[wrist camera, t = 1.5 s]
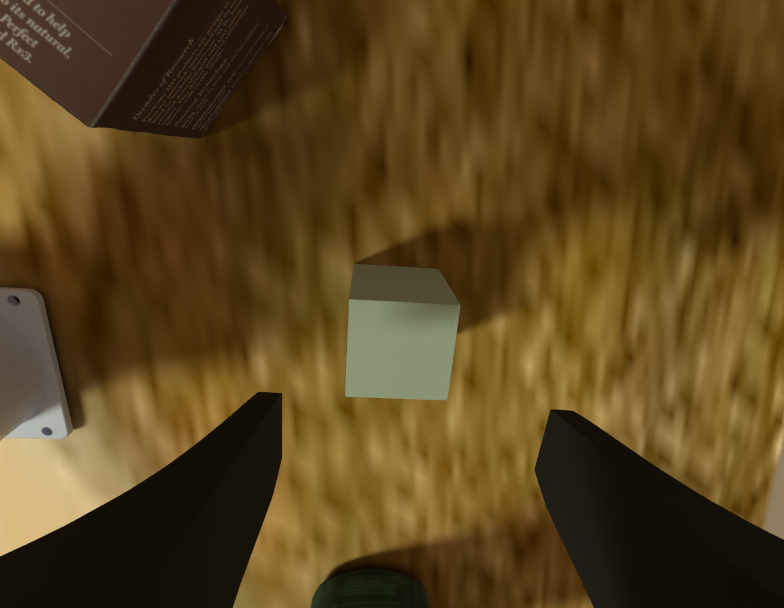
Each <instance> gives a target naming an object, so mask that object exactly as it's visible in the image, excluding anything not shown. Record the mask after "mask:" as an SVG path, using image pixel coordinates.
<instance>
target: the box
mask: <svg viewBox="0 0 784 608" xmlns="http://www.w3.org/2000/svg"><path fill="white" fill-rule="evenodd" d="M286 19H287V17H286V14H285V13H284V11H283V10H282V9H281V7H280V5H279V4H278V2H277V0H0V58H1V59H2V60H3V61H5V62H6V63H7V64H8V65H10V66H11V67H12V68H14V69H15V70H16V71H18V72H19V73H20V74H21V75H22V76H24V77H25V78H26V79H28V80H29V81H30V82H31V83H32V84H33V85H35V86H36V87H37V88H39V89H40V90H41V91H43V92H44V93H45V94H46V95H47V96H49V97H50V98H51V99H52V100H53V101H55V102H57V103H58V104H59V105H61V106H62V107H63V108H64V109H65V110H67V111H68V112H69V113H70V114H72V115H73V116H74V117H76V118H77V119H78V120H80V121H81V122H82V123H83V124H85V125H86V126H88V127H90V128H97V127H103V128H114V129H118V130H126V131H132V132H142V133H152V134H159V135H168V136H178V137H187V138H196V139H199V138H200V137H201V136H202V135H203V134H204V133H205V132H206V131H207V129H208V128H209V127H210V125H211V123H212V122H213V121H214V119H215V118H216V117H217V115H218V114H219V113H220V111H221V110H222V108H223V107H224V105H225V103H226V102H227V100H228V99H229V98H230V97H231V95H232V94H233V92H234V91H235V90H236V88H237V87H238V86H239V85H240V83H241V81H242V80H243V79H244V78H245V76H246V75H247V74H248V72H249V71H250V69H251V68H252V67H253V65H254V64H255V63H256V61H257V60H258V59H259V57H260V56H261V55H262V53H263V52H264V51H265V49H266V47H267V46H268V45H269V44H270V43H271V41H272V40H273V39H274V37H275V36H276V35H277V33H278V31H279V30H280V29H281V27H282V26H283V24H284V22H285V20H286Z"/></svg>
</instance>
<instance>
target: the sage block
mask: <svg viewBox="0 0 784 608" xmlns="http://www.w3.org/2000/svg"><path fill="white" fill-rule="evenodd" d="M460 306H461V305H460V304H459V302H458V300H457V298H456V297H455V295H454V293H453V292H452V290H451V288H450V287H449V285H448V283H447V282H446V280H445V278H444V277H443V275H442V273H441V272H440V270H439V269H434V268H417V267H401V266H384V265H368V264H354V269H353V276H352V284H351V291H350V298H349V318H348V342H347V365H346V388H345V397H373V398H400V399H427V400H447V397H448V390H449V383H450V376H451V369H452V362H453V355H454V348H455V341H456V334H457V327H458V320H459V313H460Z"/></svg>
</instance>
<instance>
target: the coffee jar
mask: <svg viewBox="0 0 784 608" xmlns="http://www.w3.org/2000/svg"><path fill="white" fill-rule="evenodd" d="M311 608H430V607H429V600H428V596H427V593H426V591H425V589H424V587H423V586H422V585H421V583H420V582H419V581H417V580H415V579H414V578H412V577H409V576H407V575H404V574H400V573H396V572H393V571H390V570H383V569H361V570H354V571H351V572H348V573H345V574H341V575H337V576H335V577H332V578H330V579H328V580H326V581H324V582H323V583H322V584H321V585H320V586H319V587H318V589H317V590H316V592H315V594H314V596H313V599H312V603H311Z"/></svg>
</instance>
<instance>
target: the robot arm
mask: <svg viewBox="0 0 784 608" xmlns="http://www.w3.org/2000/svg"><path fill="white" fill-rule="evenodd" d="M15 296H16V297H17V298H19V300H20V303H19V302H17V301H16V299H15ZM49 428H50V429H51V430H50V429H49ZM72 431H73V427H72V422H71V418H70V414H69V409H68V405H67V400H66V396H65V392H64V387H63V383H62V379H61V374H60V370H59V365H58V361H57V357H56V352H55V348H54V343H53V339H52V335H51V330H50V326H49V322H48V317H47V313H46V308H45V304H44V300H43V297H42V295H41V294H40V293H39V292H37V291H36V290H34V289H28V288H9V287H0V441H1V440H2V439H3V438H32V439H65V438H66V437H68V436H69V435H70V434H71V433H72ZM281 460H282V393H269V392H258V393H256V394H255V395H254V396H253V397H252V398H250V399H249V400H248V401H247V402H246V403H245V404H243V405H242V406H241V407H240V408H239V409H238V410H237V411H235V412H234V413H233V414H232V415H231V416H230V417H228V418H227V419H226V420H225V421H224V422H223V423H221V424H220V425H219V426H218V427H217V428H215V429H214V430H213V431H212V432H210V433H209V434H208V435H207V436H206V437H204V438H203V439H202V440H201V441H199V442H198V443H197V444H195V445H194V446H193V447H191V448H190V449H189V450H187V451H186V452H185V453H183V454H182V455H181V456H179V457H178V458H177V459H175V460H174V461H173V462H171V463H170V464H168V465H167V466H166V467H164V468H163V469H161V470H160V471H158V472H157V473H155V474H154V475H152V476H151V477H149V478H147V479H146V480H144V481H143V482H141V483H139V484H138V485H136V486H135V487H133V488H132V489H130V490H128V491H127V492H125V493H123V494H122V495H120V496H118V497H116V498H115V499H113V500H111V501H109V502H107V503H105V504H104V505H102V506H100V507H98V508H96V509H95V510H93V511H91V512H89V513H87V514H85V515H84V516H82V517H80V518H78V519H76V520H75V521H73V522H71V523H69V524H67V525H65V526H63V527H61V528H59V529H57V530H55V531H53V532H51V533H49V534H47V535H45V536H43V537H41V538H39V539H37V540H35V541H33V542H30V543H28V544H26V545H24V546H22V547H20V548H18V549H15V550H13V551H11V552H9V553H7V554H5V555H2V556H0V608H233V605H234V602H235V599H236V596H237V593H238V590H239V587H240V584H241V581H242V578H243V575H244V573H245V570H246V567H247V565H248V562H249V559H250V556H251V554H252V551H253V548H254V546H255V543H256V540H257V537H258V535H259V532H260V529H261V527H262V524H263V521H264V518H265V516H266V513H267V510H268V507H269V505H270V502H271V499H272V496H273V493H274V489H275V485H276V481H277V477H278V473H279V468H280V464H281ZM535 473H536V476H537V479H538V483H539V486H540V489H541V492H542V495H543V498H544V501H545V504H546V507H547V509H548V511H549V513H550V516H551V518H552V520H553V522H554V524H555V526H556V528H557V531H558V533H559V535H560V537H561V539H562V541H563V543H564V545H565V547H566V549H567V552H568V554H569V556H570V558H571V560H572V562H573V564H574V566H575V568H576V570H577V572H578V575H579V577H580V579H581V581H582V583H583V585H584V587H585V589H586V591H587V593H588V596H589V598H590V600H591V603H592V605H593V607H594V608H784V540H783V539H781V538H779V537H777V536H775V535H773V534H771V533H769V532H767V531H765V530H763V529H761V528H759V527H757V526H755V525H754V524H752V523H750V522H748V521H746V520H744V519H742V518H741V517H739V516H737V515H735V514H733V513H732V512H730V511H728V510H726V509H724V508H723V507H721V506H719V505H717V504H716V503H714V502H712V501H710V500H709V499H707V498H705V497H704V496H702V495H700V494H698V493H697V492H695V491H693V490H692V489H690V488H689V487H687V486H686V485H684V484H682V483H681V482H679V481H678V480H676V479H674V478H673V477H671V476H670V475H668V474H666V473H665V472H663V471H662V470H660V469H659V468H657V467H656V466H654V465H653V464H651V463H650V462H648V461H647V460H645V459H644V458H642V457H641V456H639V455H638V454H637V453H635V452H634V451H632V450H631V449H629V448H628V447H626V446H625V445H624V444H622V443H621V442H619V441H618V440H616V439H615V438H613V437H612V436H611V435H609V434H608V433H606V432H605V431H603V430H602V429H600V428H599V427H597V426H596V425H595V424H593V423H592V422H590V421H589V420H587V419H585V418H584V417H582V416H581V415H579V414H577V413H576V412H574V411H569V410H552V409H551V410H550V413H549V417H548V421H547V425H546V428H545V432H544V436H543V440H542V443H541V447H540V451H539V455H538V458H537V462H536V466H535Z"/></svg>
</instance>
